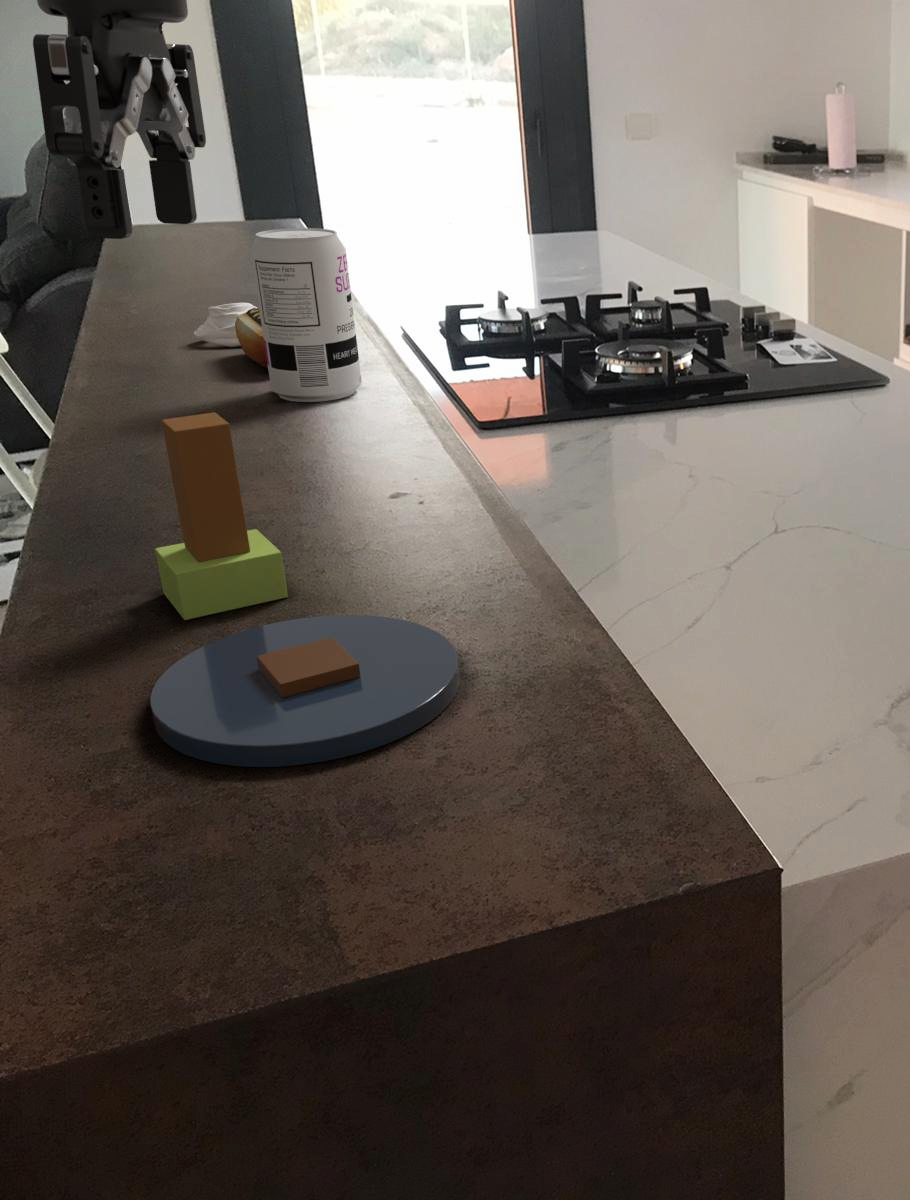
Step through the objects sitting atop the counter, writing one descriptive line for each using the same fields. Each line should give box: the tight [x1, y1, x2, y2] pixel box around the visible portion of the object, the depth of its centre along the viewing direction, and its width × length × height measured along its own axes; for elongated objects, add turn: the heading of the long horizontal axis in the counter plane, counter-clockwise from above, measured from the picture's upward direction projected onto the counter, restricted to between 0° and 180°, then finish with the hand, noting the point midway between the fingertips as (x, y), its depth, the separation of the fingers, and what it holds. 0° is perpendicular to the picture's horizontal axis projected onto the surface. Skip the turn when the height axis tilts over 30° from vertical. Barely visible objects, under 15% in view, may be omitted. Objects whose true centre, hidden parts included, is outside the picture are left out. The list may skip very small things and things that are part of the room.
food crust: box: [256, 637, 361, 698], centre depth 66 cm, size 4×4×1 cm
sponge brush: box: [154, 412, 289, 621], centre depth 76 cm, size 6×5×11 cm
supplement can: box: [250, 227, 363, 403], centre depth 121 cm, size 8×8×15 cm
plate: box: [149, 614, 461, 768], centre depth 67 cm, size 15×15×1 cm
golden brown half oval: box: [235, 307, 268, 370], centre depth 134 cm, size 5×13×5 cm, turn 32°
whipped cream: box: [193, 302, 258, 348], centre depth 143 cm, size 8×7×5 cm
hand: (145, 230), depth 76 cm, fingers open, 8 cm apart
